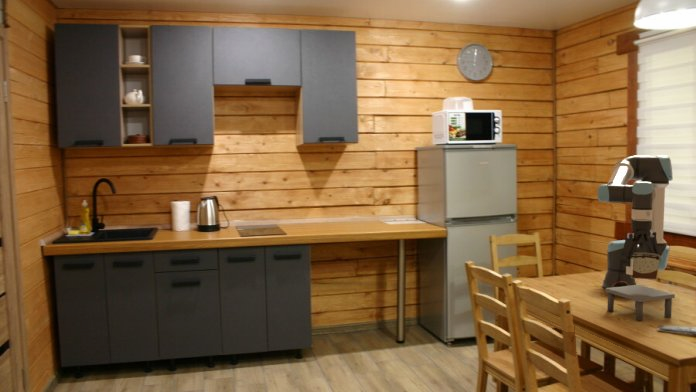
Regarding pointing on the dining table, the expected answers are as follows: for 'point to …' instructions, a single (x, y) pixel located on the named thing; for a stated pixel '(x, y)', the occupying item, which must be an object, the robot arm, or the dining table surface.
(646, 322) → the dining table surface
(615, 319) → the dining table surface
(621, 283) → the pottery mug
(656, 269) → the food container
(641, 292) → the small gray table
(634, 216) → the robot arm
